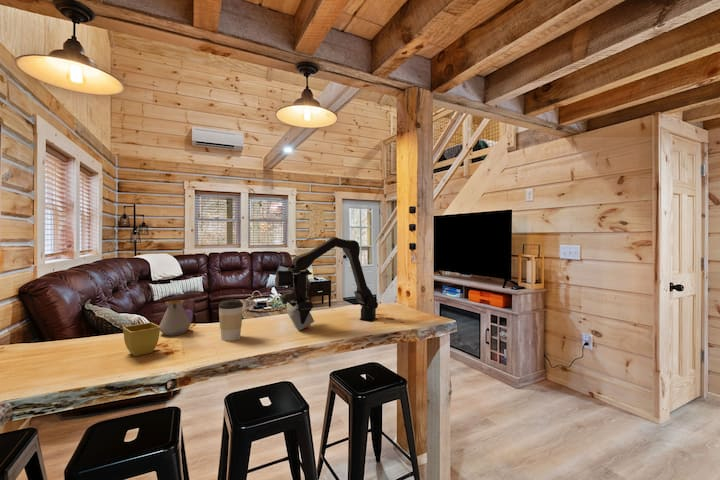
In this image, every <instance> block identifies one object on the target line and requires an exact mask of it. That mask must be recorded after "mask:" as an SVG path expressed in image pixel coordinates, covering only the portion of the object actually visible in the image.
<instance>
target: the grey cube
mask: <svg viewBox="0 0 720 480" xmlns="http://www.w3.org/2000/svg"><path fill="white" fill-rule="evenodd" d="M286 313H287V314H288V317H289V318H290V320H291V322H292V324H293V326H294V327H295V329H296V330H297V331H298V332H300V331H301V330H303V329H306V328H305V327H307V326H308V325H310V326H311V324H313V323H314V322H315V319H314V318H313V316H312V314H311V311H310V312H309V314H308V316H307V318H306V320H305V323H304V324H301V319H300V312H299V311H298V310H297V309H296V306H294V307H293V306H292V307H290V308H289V309H288V310H286Z"/></svg>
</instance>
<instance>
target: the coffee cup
mask: <svg viewBox="0 0 720 480" xmlns="http://www.w3.org/2000/svg"><path fill="white" fill-rule="evenodd" d="M243 307H244V303H243V302H242V300H240V299H236V298H233V299H224V300H221V302H220V303H219V304H218V316H219V317H218V318H219V329H220V339H221V341H225V342H228V341H229V342H230V341H236V340H239V339H240V338H241V330H242V324H243V312H244V311H243Z"/></svg>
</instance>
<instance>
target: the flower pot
mask: <svg viewBox="0 0 720 480" xmlns="http://www.w3.org/2000/svg"><path fill="white" fill-rule="evenodd" d="M122 333H123V339H124V344H125V346H126V349H127V350H128V351H129V353H130V354H131V355H133V356H134V357H138V356H141V355H147V354H151V353H153V352H154V350H155V349H156V347H157V345H158V343H159V340H160V339H159V338H160V333H161V331H160V326H159V325H158V324H156V323H154V322H145V323H140V324H133V325H132V324H131V325H127V326H122Z"/></svg>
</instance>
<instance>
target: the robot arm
mask: <svg viewBox="0 0 720 480" xmlns="http://www.w3.org/2000/svg"><path fill="white" fill-rule="evenodd" d="M335 248H340V249H342V250H343V253H344V255H345V256H346V257H347V259H348V261H349V263H350V267H351V271H352V274H353V279H354V282H355V284H356V290H354V291H353V293H354V296H355V300H357V302H359V305H360V307H361V308H360V318H359V320H361V321H366V322H374V321H375V320H378V317H376V316H377V314H376V313H377V309H378V306H379V302H377V301H376V300H375V297H374V294H373V293H372V291H371V289H370V288H369V287H368V285H367V281H366V279H365V275H364V271H363V268H362V264H361V261H360V252H361V250H360V244H359V242H358V241H357V240H355V239H353V240H352V239H342V238H339V237H337V236H333V237H330V238H328V239H327V240H326V241H324V242H323V243H321V244H319V245H318V246H316V247H315V248H313V249H311V250H310V251H308V252H305V253H302V254H301V253H300V254H299V255H297V256H295V257H293V259H292V262H291V265H290V266H289V267H288V269H287V270H280V269H278V270H276V274H275V278H274V283H275V284H274V285H275V286H276V287H277V288H280V287H283V288H284V287H291V286H292V285H293V287H291V290H290V291H288V292H285V293H282V294H281V295H279V299H280V301H281V303H282V304H283V305H286V304H288V303H289V305H291V306H292V308H293V307H294V306H296V309H297V310H298V311H299V312H300V319H301V324H304V323H305V320H306V318H307V316H308V314H309V312H310V313H311V311H312V309H314V307H313V306H314V303H313V302H312V301H311V300H309V297H308V295H307V294H308V291H309V288H308V276H311V275H313V274H312V272H311V271H310V270H309V269H308V268H310V266H311V265H312V264H313V263H314V261H316V260H317V259H318V258H320V257H321V256H323V255H324V254H326V253H328V252H329V251H331V250H332V249H335Z"/></svg>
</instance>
